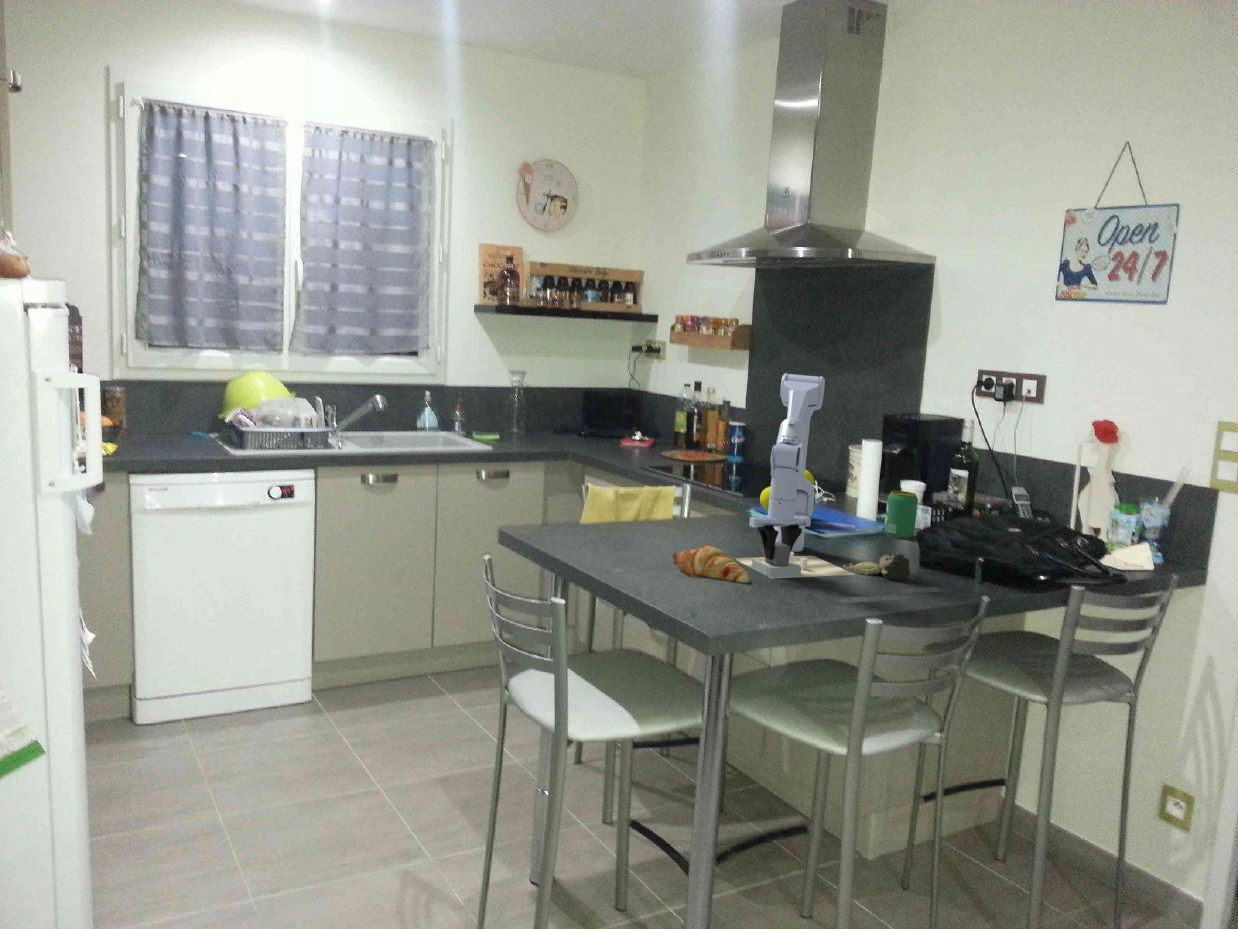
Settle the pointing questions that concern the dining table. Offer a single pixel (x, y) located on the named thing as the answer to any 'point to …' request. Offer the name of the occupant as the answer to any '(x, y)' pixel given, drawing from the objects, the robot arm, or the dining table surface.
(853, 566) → the figurine
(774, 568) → the end holder
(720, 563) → the croissant
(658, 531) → the dining table surface
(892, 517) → the beverage can
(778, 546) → the block
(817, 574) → the board
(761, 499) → the toy
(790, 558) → the twin white cubes
